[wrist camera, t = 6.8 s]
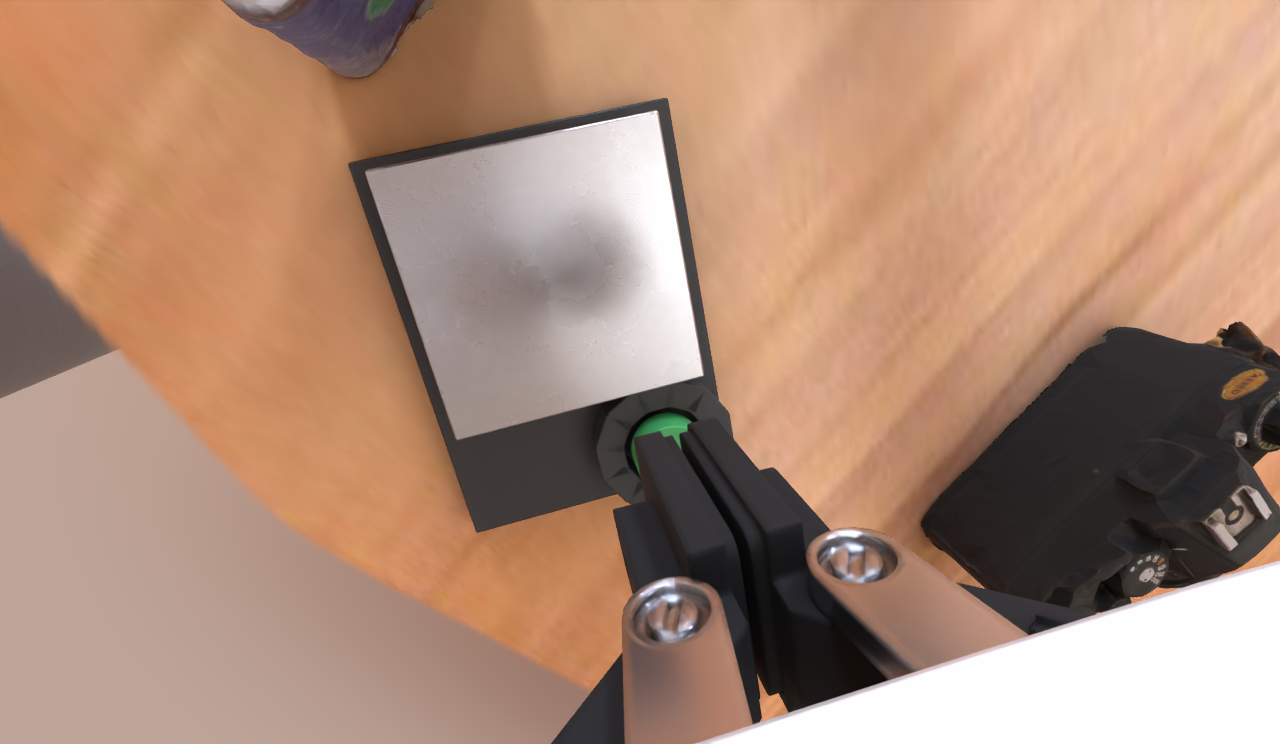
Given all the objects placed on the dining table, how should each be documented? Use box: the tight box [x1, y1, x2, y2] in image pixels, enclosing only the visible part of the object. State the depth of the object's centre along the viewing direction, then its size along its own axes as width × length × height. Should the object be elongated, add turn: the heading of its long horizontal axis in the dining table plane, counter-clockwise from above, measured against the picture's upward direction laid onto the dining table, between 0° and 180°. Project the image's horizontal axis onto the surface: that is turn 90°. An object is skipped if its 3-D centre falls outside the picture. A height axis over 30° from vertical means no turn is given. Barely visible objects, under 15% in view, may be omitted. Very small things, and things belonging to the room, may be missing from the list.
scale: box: [348, 98, 733, 533], centre depth 25 cm, size 12×16×3 cm
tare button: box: [631, 413, 692, 474], centre depth 25 cm, size 3×3×2 cm
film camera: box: [921, 322, 1280, 616], centre depth 29 cm, size 18×12×10 cm
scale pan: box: [365, 110, 704, 440], centre depth 22 cm, size 10×10×1 cm
